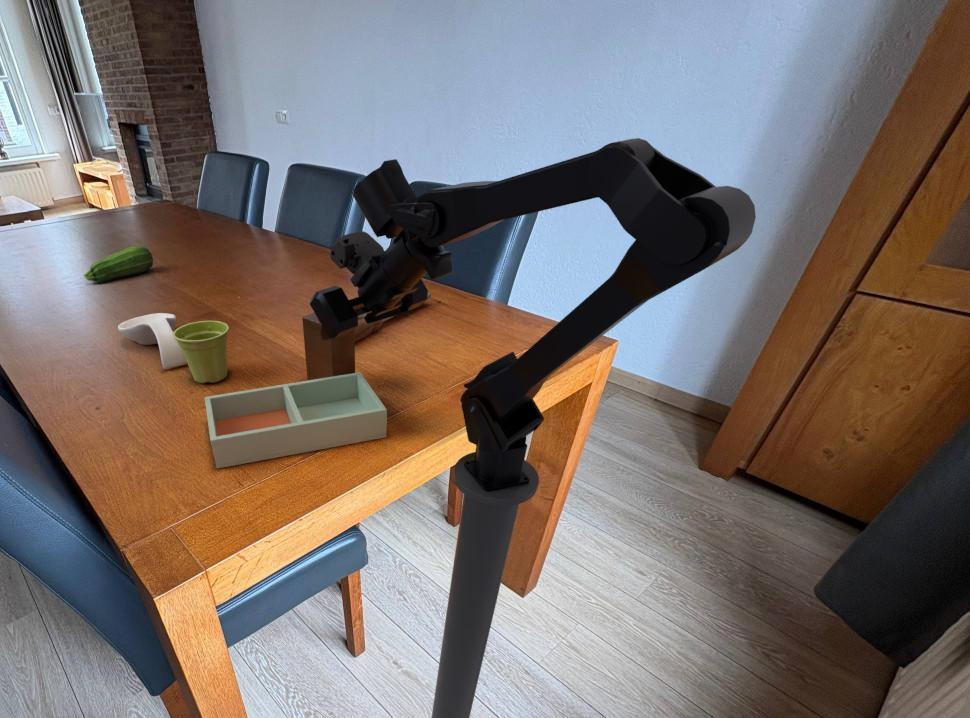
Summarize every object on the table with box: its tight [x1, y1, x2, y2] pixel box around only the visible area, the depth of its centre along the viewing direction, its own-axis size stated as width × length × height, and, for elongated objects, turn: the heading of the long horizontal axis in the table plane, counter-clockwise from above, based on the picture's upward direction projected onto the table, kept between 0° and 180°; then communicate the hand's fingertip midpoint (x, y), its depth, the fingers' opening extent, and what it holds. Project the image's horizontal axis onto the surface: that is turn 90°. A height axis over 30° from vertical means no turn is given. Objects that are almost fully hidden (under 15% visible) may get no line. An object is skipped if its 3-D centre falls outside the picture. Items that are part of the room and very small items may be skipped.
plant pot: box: [173, 320, 230, 384], centre depth 89 cm, size 9×9×9 cm
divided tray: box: [204, 371, 388, 469], centre depth 75 cm, size 13×24×5 cm, turn 105°
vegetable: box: [83, 245, 154, 284], centre depth 144 cm, size 7×7×20 cm
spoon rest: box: [117, 312, 188, 370], centre depth 101 cm, size 24×12×7 cm, turn 32°
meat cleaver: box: [354, 293, 432, 343], centre depth 109 cm, size 34×11×4 cm, turn 140°
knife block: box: [301, 312, 356, 381], centre depth 84 cm, size 5×7×13 cm
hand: (345, 328), depth 79 cm, fingers open, 9 cm apart
